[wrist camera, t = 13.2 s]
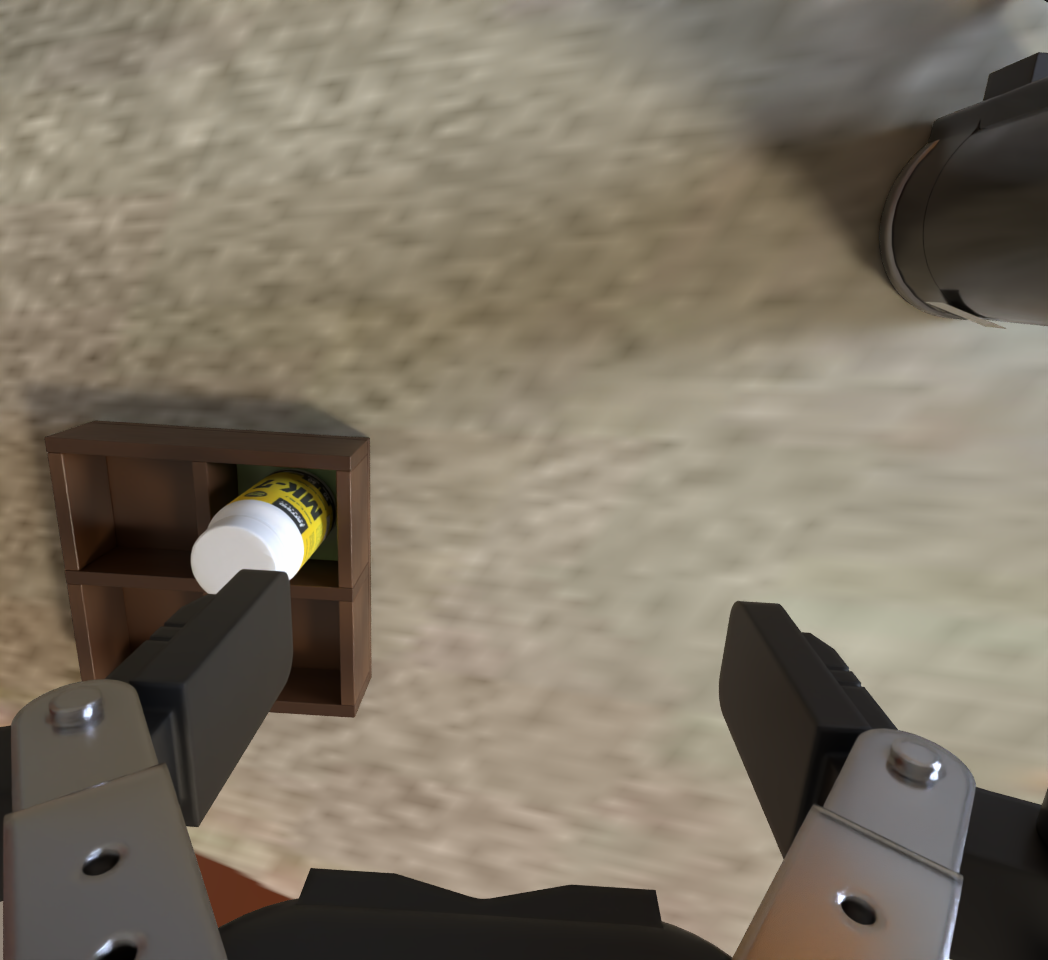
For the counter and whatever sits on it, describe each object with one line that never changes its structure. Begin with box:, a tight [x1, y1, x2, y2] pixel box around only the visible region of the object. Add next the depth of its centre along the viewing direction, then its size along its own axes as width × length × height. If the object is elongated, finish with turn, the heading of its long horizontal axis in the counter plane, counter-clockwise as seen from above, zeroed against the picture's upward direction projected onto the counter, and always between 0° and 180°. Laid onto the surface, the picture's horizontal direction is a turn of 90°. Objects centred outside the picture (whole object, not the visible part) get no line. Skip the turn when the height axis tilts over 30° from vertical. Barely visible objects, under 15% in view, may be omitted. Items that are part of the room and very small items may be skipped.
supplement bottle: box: [191, 469, 337, 594], centre depth 34 cm, size 5×5×8 cm
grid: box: [45, 421, 371, 718], centre depth 38 cm, size 16×16×4 cm
